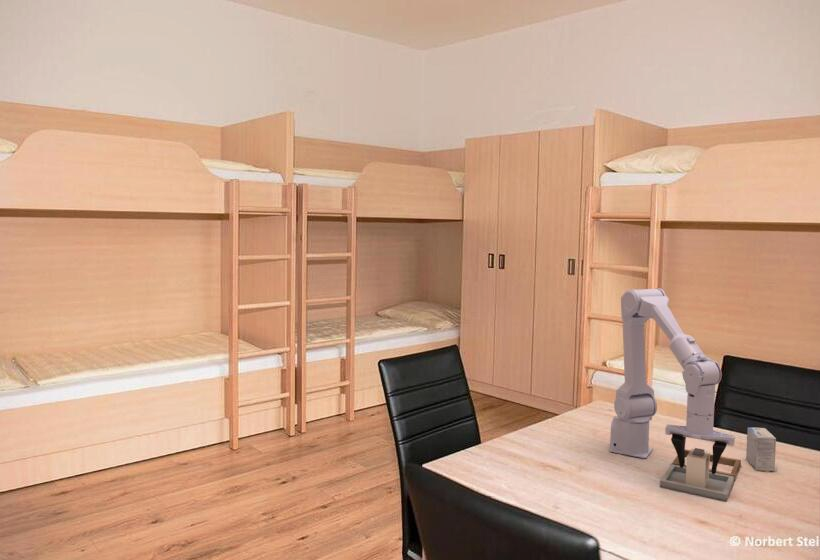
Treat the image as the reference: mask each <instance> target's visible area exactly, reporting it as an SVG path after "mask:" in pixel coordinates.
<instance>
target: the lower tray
mask: <svg viewBox="0 0 820 560" xmlns="http://www.w3.org/2000/svg"><path fill="white" fill-rule="evenodd" d="M734 484H735V482H734V477H733V476H728V475H723V474H718V473H715V474H712V472H709V481H708V483H707V485H706V487H705V488H701V487H696V486H692V485H687V484H686V467H683V468H681V467H680V466H678V465H673V464H672V463H670V465H669V466H668V468H667V469H666V471H665V472H664V474H663V475H662V477H661V478H660V480H659V488H661V489H668V490H672V491H677V492H681V493H686V494H689V495H694V496H698V497H704V498H709V499H712V500H716V501H717V500H718V501H720V502H727V501H728V499H729V496H730V494H731V492H732V488H733V486H734Z"/></svg>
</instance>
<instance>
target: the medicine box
mask: <svg viewBox="0 0 820 560" xmlns="http://www.w3.org/2000/svg"><path fill="white" fill-rule="evenodd" d="M746 432H747V433H746V452H745V453H746V454H745V456H746V457H745V458H746V460H747V461H748V462H749V463H750V465H751V466H752V467H753V468H754V469H755V470H756V471H758V472H759V471H761V472H773V471H774V472H775V471H776V452H777V451H776V450H777V448H776V446H777V438H776V437H775V436H774V435H773V434H772V433H771V432H770V431H768V429H767V428H765V427H747V431H746Z"/></svg>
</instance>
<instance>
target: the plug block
mask: <svg viewBox="0 0 820 560" xmlns="http://www.w3.org/2000/svg"><path fill="white" fill-rule="evenodd" d="M689 450H690V452H689V454H688V455H687V457H686V463H685V464H686V484H687V485H692V486H696V487H701V488H705V487H706V485H707V483H708V481H709V469H710V463H711V461H710V454H711V452H710V451H708V450H707V451H706V450H705V449H704V448H698V447H697V448H696V447H695V448H691V449H689Z"/></svg>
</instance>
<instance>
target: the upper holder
mask: <svg viewBox="0 0 820 560" xmlns="http://www.w3.org/2000/svg"><path fill="white" fill-rule="evenodd" d="M690 450H691V449H685V458H687V455H688V454H689V452H690ZM711 462H712V463H713V454H711V453H710V463H711ZM671 464H673V465H678V466H680V465H679V459H678V456H677V455H676V457H675V458H674V459H673V461H672V462H671ZM686 464H687V463H685V465H684V467H686ZM718 464H723V465H728V466H733V467H732V469H731V472H725V471H721V470H716V473H718V474H723V475H728V476H733V477H734V483H735V482H736V479H737V476H738V474H739V472H740V469H741V466H742V460H741V459H738V458H734V457H733V458H732V457H726V456H723V455H721V457H720V459H719V462H718ZM709 472H712V468H709Z"/></svg>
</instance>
